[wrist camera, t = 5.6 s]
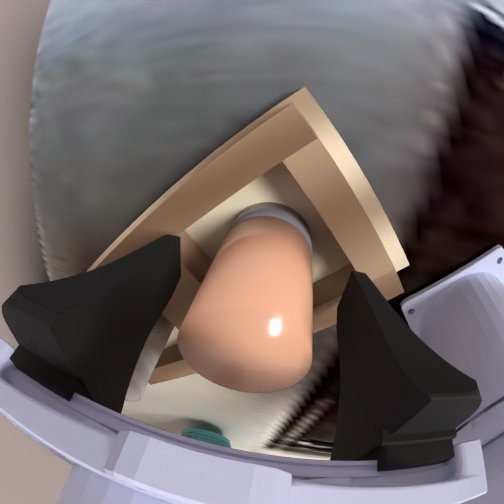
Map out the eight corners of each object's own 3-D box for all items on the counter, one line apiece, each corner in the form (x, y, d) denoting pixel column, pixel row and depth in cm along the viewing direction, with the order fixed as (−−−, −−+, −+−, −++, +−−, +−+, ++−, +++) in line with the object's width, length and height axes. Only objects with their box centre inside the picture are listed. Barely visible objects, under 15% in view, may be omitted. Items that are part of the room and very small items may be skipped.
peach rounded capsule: (326, 254, 14) (335, 374, 8) (260, 286, 15) (232, 400, 9) (281, 185, 12) (258, 283, 6) (212, 228, 14) (151, 332, 8)
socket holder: (403, 252, 14) (446, 354, 8) (161, 359, 23) (131, 426, 17) (304, 87, 11) (308, 75, 5) (78, 280, 20) (27, 341, 14)
